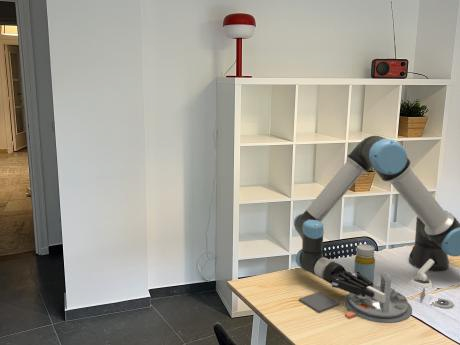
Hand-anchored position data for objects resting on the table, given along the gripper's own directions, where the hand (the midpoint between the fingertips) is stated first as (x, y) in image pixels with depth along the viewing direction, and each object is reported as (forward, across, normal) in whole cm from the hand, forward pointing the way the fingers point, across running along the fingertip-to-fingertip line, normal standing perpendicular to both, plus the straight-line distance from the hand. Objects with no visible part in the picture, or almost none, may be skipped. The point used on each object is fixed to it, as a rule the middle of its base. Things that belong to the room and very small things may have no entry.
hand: (383, 298), depth 139 cm
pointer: (-8, +6, -8) cm, 13 cm away
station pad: (-20, +8, -8) cm, 23 cm away
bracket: (+1, -26, -8) cm, 27 cm away
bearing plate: (-8, -7, -8) cm, 13 cm away
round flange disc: (-8, -7, -8) cm, 13 cm away
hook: (-10, -34, -8) cm, 36 cm away
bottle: (-21, -15, -8) cm, 27 cm away
